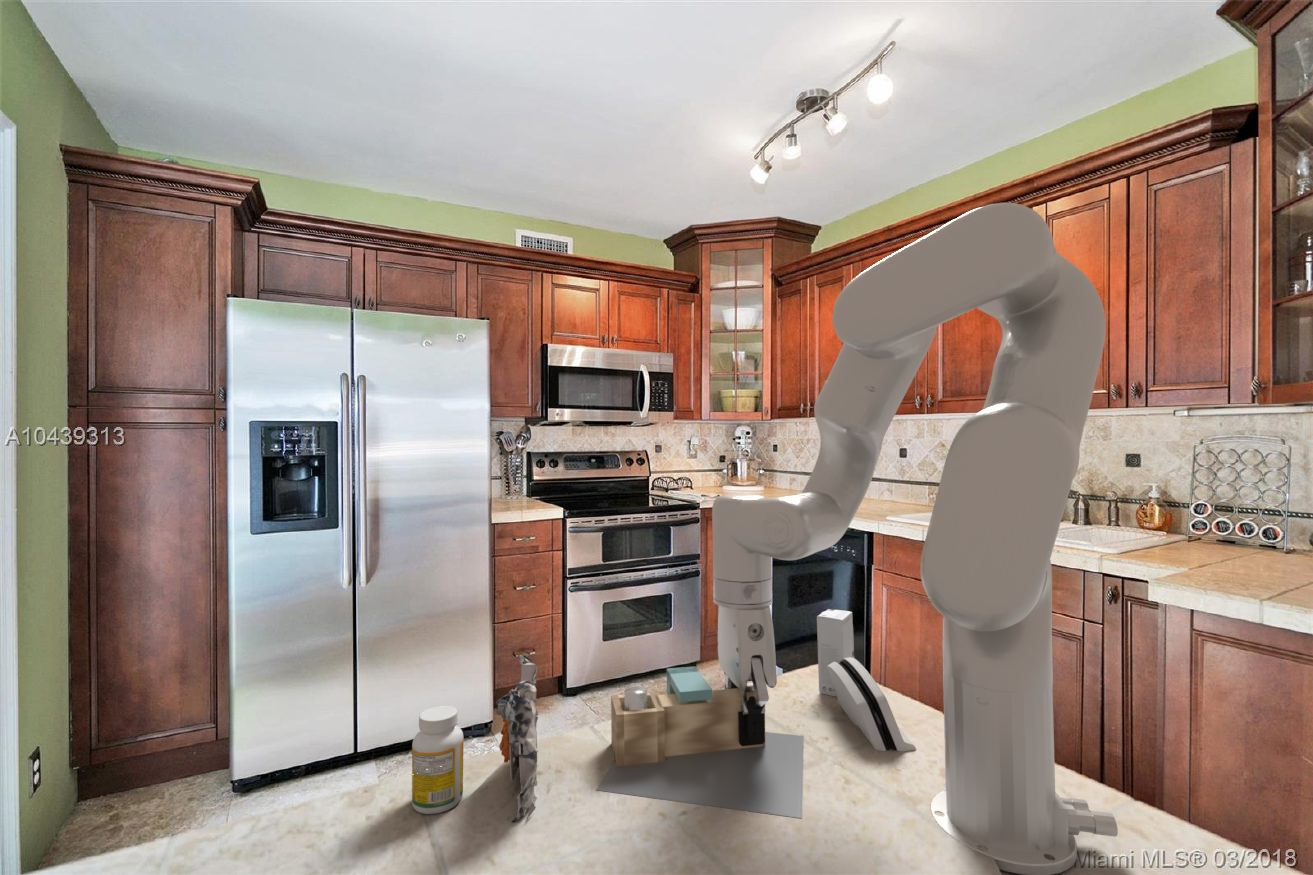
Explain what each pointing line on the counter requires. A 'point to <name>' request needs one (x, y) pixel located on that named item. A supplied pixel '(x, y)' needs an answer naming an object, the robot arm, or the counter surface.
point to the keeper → (688, 684)
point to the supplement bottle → (437, 761)
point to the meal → (521, 734)
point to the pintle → (635, 698)
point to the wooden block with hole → (675, 727)
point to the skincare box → (833, 644)
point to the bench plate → (722, 778)
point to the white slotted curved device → (867, 705)
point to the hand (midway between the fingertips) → (744, 732)
